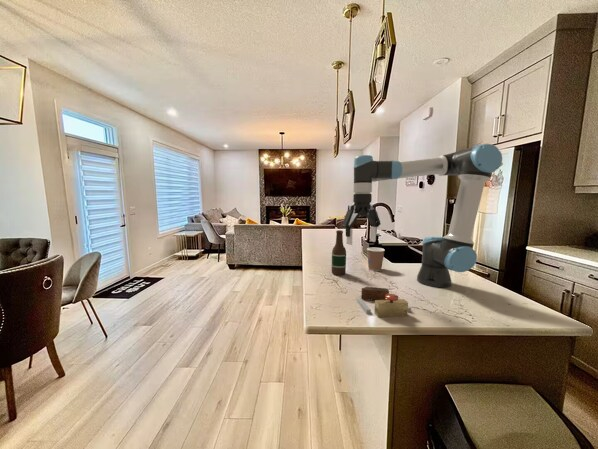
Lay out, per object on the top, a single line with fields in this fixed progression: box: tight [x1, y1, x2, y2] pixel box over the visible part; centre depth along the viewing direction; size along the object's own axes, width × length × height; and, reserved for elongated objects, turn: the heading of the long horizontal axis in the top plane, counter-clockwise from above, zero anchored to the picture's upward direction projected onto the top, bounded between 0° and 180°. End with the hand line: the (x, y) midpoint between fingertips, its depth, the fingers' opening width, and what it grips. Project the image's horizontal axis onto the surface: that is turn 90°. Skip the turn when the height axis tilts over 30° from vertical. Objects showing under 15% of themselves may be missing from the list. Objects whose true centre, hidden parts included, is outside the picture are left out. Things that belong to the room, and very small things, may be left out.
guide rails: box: [356, 297, 412, 315], centre depth 96 cm, size 17×10×2 cm, turn 96°
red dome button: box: [374, 293, 409, 318], centre depth 89 cm, size 11×4×7 cm, turn 96°
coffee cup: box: [366, 247, 386, 272], centre depth 147 cm, size 10×10×12 cm
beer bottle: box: [331, 229, 347, 276], centre depth 137 cm, size 8×8×24 cm
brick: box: [360, 286, 390, 302], centre depth 104 cm, size 11×4×5 cm, turn 75°
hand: (361, 242), depth 108 cm, fingers open, 13 cm apart
